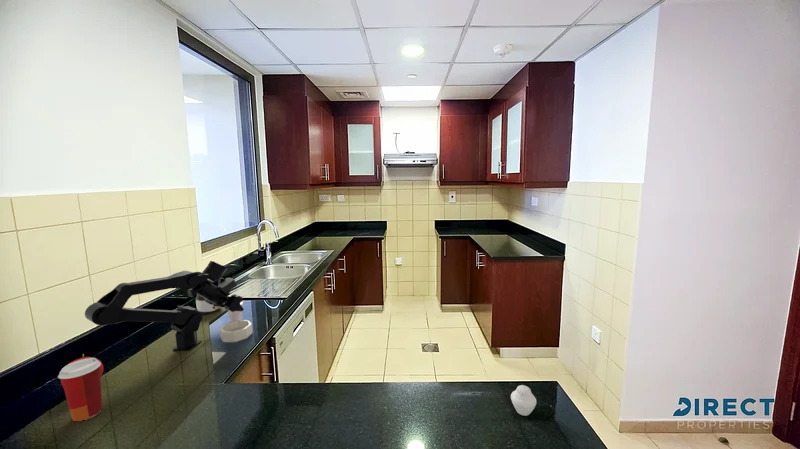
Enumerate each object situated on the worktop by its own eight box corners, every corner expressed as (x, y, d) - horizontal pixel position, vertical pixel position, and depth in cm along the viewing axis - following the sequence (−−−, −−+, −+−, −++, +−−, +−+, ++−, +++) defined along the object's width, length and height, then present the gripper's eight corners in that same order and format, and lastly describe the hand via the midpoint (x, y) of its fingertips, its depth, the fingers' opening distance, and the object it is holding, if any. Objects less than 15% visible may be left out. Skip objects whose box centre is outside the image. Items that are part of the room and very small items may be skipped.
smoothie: (238, 329, 130) (235, 297, 128) (224, 328, 131) (221, 296, 129) (248, 322, 136) (245, 291, 134) (235, 321, 137) (232, 291, 135)
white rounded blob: (534, 423, 77) (535, 397, 76) (508, 415, 80) (509, 389, 79) (537, 407, 82) (538, 383, 81) (512, 400, 85) (513, 376, 84)
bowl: (242, 342, 119) (241, 332, 119) (215, 342, 120) (214, 332, 119) (256, 329, 130) (255, 320, 129) (231, 329, 130) (230, 320, 130)
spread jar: (201, 316, 143) (199, 292, 142) (192, 310, 150) (189, 287, 149) (228, 308, 153) (226, 285, 151) (218, 303, 160) (216, 281, 158)
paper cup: (104, 400, 88) (97, 353, 86) (110, 412, 83) (102, 363, 81) (64, 416, 82) (55, 366, 80) (67, 430, 77) (58, 378, 75)
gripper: (235, 276, 122) (263, 295, 133) (209, 270, 132) (237, 288, 143) (217, 303, 117) (247, 320, 127) (191, 294, 126) (221, 311, 137)
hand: (238, 308), depth 134 cm, fingers closed on smoothie, 6 cm apart
